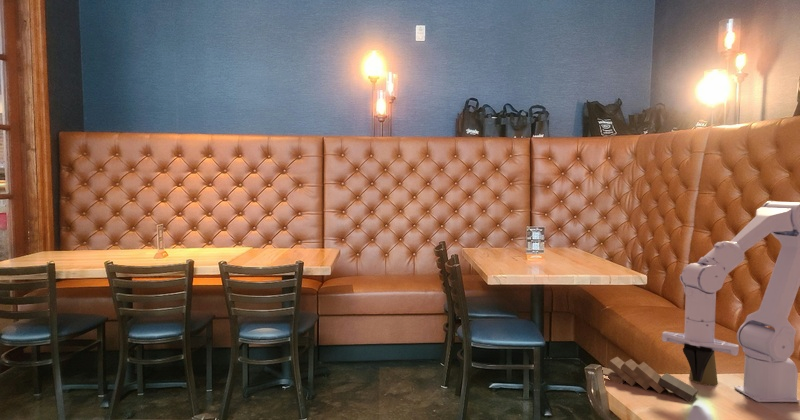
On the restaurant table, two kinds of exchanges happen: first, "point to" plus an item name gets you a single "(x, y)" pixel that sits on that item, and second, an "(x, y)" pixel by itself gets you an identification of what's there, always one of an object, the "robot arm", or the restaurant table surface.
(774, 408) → the restaurant table surface
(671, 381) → the tile
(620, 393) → the restaurant table surface
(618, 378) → the tile
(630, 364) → the tile
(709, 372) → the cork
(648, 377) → the tile
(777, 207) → the robot arm
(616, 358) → the tile
